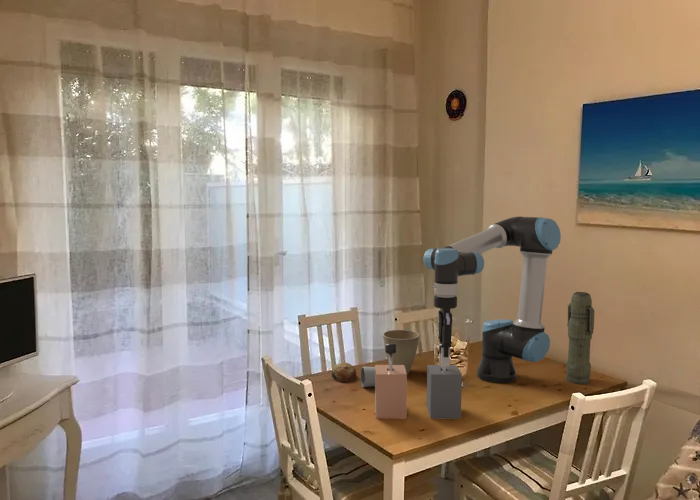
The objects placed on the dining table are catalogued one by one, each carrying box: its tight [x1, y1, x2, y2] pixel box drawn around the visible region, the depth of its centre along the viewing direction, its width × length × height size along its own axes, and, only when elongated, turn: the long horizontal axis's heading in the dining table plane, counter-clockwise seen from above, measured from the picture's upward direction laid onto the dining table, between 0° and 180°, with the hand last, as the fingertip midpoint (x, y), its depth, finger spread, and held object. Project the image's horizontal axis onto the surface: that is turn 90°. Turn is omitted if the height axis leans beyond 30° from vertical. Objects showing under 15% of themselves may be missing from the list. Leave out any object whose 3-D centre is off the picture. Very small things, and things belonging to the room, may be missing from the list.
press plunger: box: [384, 342, 396, 371], centre depth 195 cm, size 8×8×22 cm
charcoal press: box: [426, 364, 463, 420], centre depth 196 cm, size 10×12×15 cm
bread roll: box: [330, 362, 357, 383], centre depth 231 cm, size 10×10×8 cm
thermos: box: [565, 291, 595, 385], centre depth 226 cm, size 9×12×35 cm
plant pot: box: [382, 329, 420, 375], centre depth 238 cm, size 15×15×16 cm
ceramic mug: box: [360, 366, 375, 388], centre depth 223 cm, size 11×8×8 cm
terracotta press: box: [374, 364, 408, 419], centre depth 196 cm, size 10×12×15 cm
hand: (444, 363), depth 194 cm, fingers closed on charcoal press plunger, 4 cm apart
